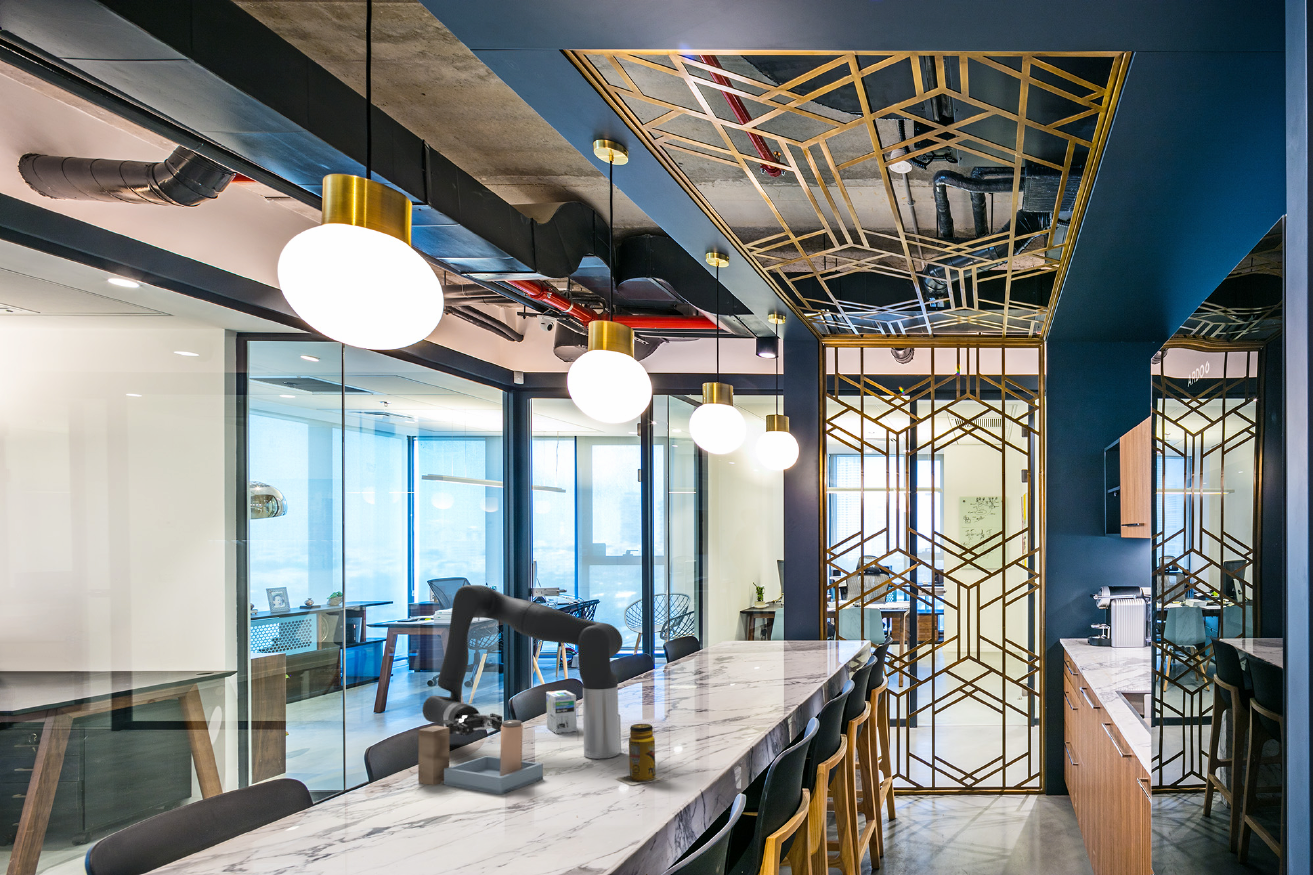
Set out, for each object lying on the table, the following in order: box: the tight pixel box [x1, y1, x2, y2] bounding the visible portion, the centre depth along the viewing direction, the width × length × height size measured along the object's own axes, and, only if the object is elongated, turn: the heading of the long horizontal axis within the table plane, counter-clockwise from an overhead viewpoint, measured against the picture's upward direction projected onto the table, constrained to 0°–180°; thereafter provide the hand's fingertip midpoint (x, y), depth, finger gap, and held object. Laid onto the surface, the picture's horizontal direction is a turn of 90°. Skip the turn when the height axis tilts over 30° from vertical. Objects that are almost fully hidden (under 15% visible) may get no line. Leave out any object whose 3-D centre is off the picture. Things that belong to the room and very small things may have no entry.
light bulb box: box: [545, 689, 578, 734], centre depth 251 cm, size 11×7×11 cm, turn 23°
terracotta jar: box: [499, 719, 524, 776], centre depth 195 cm, size 5×5×13 cm
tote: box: [443, 755, 544, 795], centre depth 196 cm, size 14×18×4 cm
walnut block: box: [417, 725, 450, 786], centre depth 198 cm, size 5×5×12 cm
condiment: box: [615, 723, 663, 786], centre depth 194 cm, size 7×8×12 cm
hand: (482, 727), depth 210 cm, fingers open, 8 cm apart
